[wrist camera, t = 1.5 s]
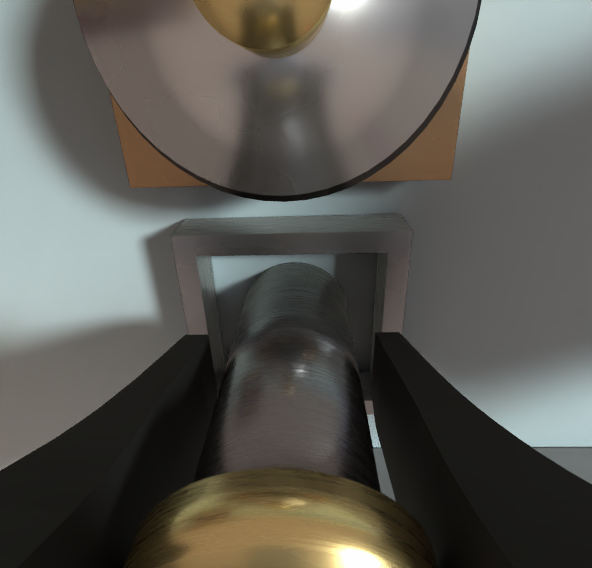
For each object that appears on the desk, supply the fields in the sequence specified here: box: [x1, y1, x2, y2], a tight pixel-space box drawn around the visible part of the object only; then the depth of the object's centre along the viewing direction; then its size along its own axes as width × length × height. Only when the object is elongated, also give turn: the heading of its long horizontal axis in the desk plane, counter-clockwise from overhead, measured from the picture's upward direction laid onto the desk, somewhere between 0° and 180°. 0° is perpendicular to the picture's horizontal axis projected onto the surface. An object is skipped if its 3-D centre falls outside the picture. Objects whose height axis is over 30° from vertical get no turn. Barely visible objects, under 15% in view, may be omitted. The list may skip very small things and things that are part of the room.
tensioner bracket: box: [73, 0, 481, 414], centre depth 9 cm, size 8×15×6 cm, turn 2°
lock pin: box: [123, 263, 438, 568], centre depth 9 cm, size 5×5×9 cm
